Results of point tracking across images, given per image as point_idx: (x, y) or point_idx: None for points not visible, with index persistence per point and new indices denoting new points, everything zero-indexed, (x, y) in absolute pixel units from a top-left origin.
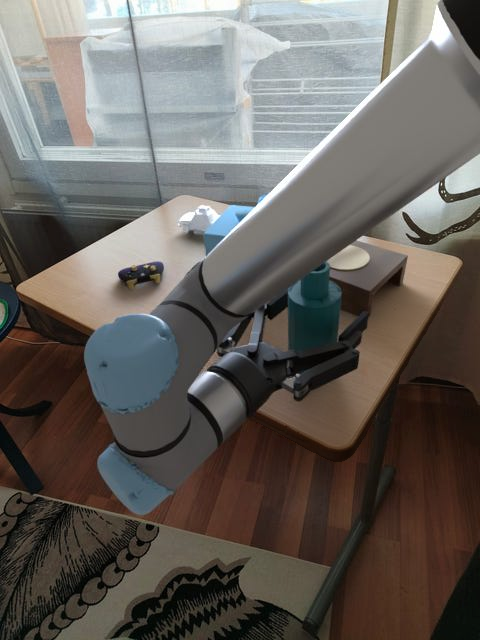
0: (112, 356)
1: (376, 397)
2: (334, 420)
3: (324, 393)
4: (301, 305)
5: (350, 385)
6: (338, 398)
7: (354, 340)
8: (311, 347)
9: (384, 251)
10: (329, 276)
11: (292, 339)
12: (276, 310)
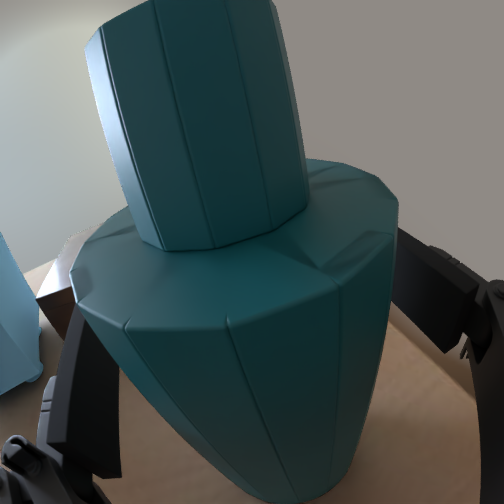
0: None
1: (435, 364)
2: (468, 460)
3: (390, 459)
4: (317, 296)
5: (390, 397)
6: (416, 434)
7: (468, 271)
8: (357, 432)
9: None
10: None
11: (269, 476)
12: (102, 430)
